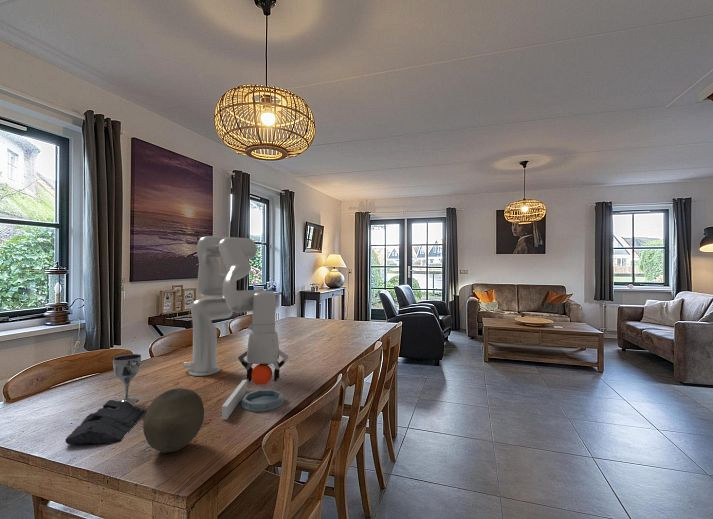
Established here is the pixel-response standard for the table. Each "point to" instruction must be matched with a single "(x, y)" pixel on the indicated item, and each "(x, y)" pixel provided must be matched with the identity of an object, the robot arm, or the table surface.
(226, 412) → the low wall
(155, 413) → the cantaloupe
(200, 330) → the robot arm
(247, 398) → the grey shallow dish
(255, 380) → the clementine
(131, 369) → the wine glass
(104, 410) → the dark slate chunk
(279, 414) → the table surface
